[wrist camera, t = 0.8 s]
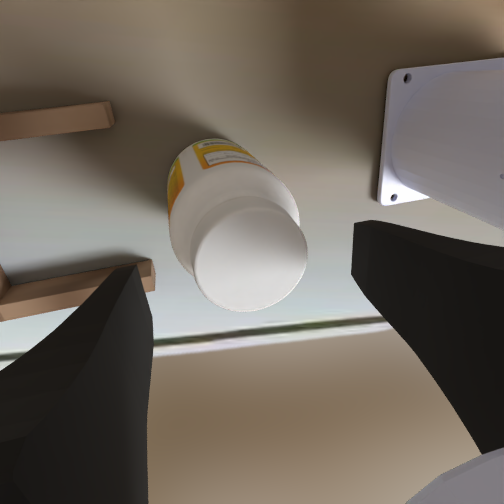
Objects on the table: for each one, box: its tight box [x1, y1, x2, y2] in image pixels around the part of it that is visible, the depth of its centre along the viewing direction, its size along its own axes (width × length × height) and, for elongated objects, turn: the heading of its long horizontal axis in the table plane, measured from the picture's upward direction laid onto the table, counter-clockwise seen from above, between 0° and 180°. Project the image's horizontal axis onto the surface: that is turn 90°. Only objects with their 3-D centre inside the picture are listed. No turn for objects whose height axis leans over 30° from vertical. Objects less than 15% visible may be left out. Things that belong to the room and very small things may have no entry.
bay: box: [0, 101, 156, 322], centre depth 17 cm, size 9×10×2 cm
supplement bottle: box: [167, 139, 308, 312], centre depth 16 cm, size 5×5×10 cm
